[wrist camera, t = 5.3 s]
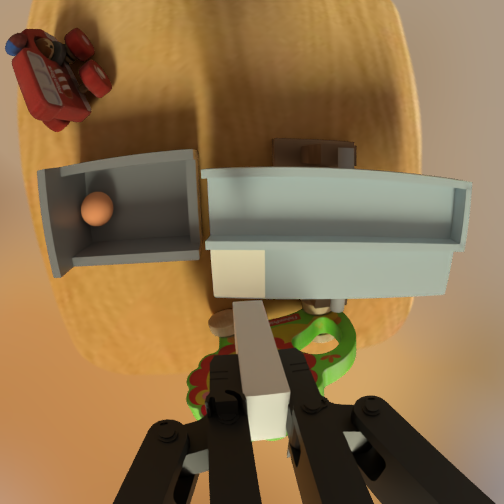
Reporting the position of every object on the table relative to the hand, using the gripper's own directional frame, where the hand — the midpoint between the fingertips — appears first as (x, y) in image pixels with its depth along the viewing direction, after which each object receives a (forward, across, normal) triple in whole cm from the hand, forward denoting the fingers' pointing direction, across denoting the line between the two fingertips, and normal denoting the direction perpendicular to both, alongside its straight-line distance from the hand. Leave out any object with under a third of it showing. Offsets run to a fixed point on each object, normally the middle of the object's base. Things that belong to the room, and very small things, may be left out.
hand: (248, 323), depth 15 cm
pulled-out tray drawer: (+14, -9, +5) cm, 18 cm away
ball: (+12, -13, +5) cm, 18 cm away
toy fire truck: (+15, -16, +19) cm, 29 cm away
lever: (+7, +8, +3) cm, 11 cm away
